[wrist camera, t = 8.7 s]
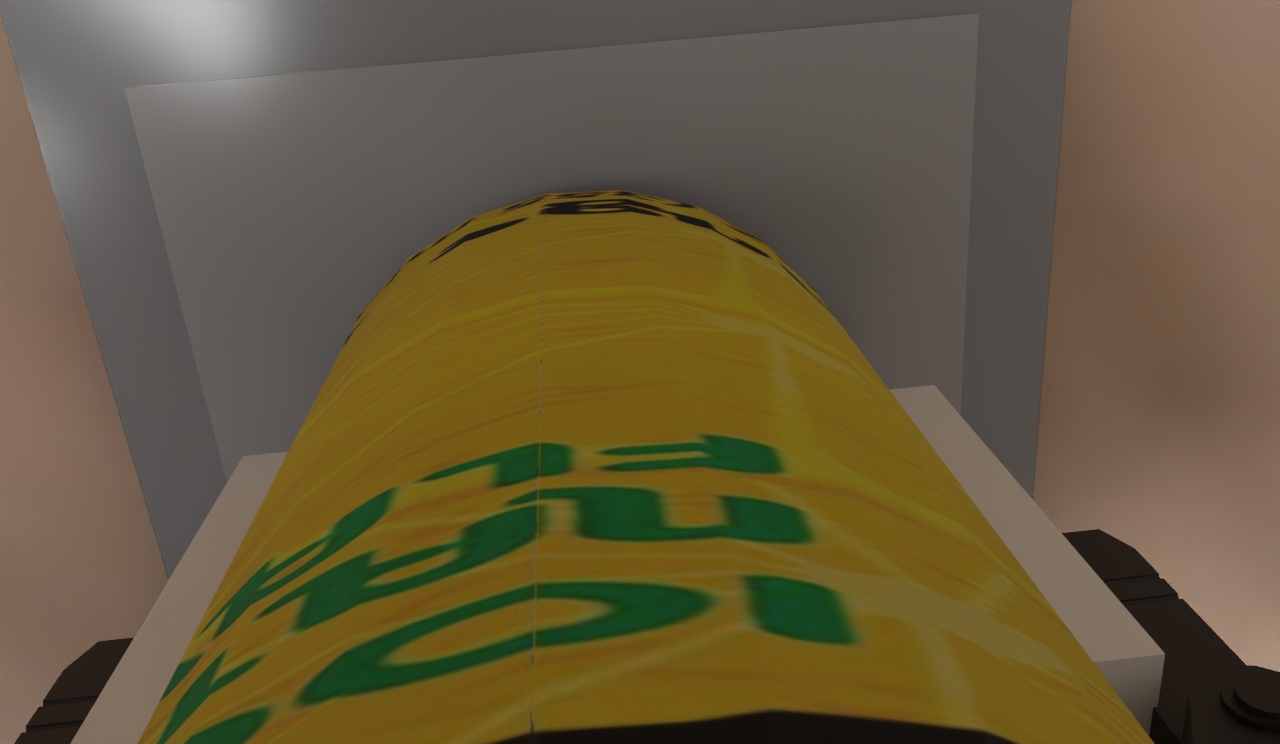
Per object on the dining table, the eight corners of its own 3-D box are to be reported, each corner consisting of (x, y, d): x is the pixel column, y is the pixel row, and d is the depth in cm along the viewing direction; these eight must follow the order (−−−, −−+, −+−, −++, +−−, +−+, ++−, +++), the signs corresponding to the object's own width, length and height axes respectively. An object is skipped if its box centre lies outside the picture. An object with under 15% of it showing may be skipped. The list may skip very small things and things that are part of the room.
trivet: (252, 796, 22) (240, 830, 21) (19, -12, 16) (-11, -10, 15) (999, 710, 23) (1016, 739, 22) (1055, -99, 16) (1081, -101, 16)
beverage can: (223, 521, 17) (-345, 1521, 6) (521, 67, 15) (431, 416, 4) (655, 746, 20) (782, 1741, 9) (970, 388, 18) (1674, 1144, 7)
